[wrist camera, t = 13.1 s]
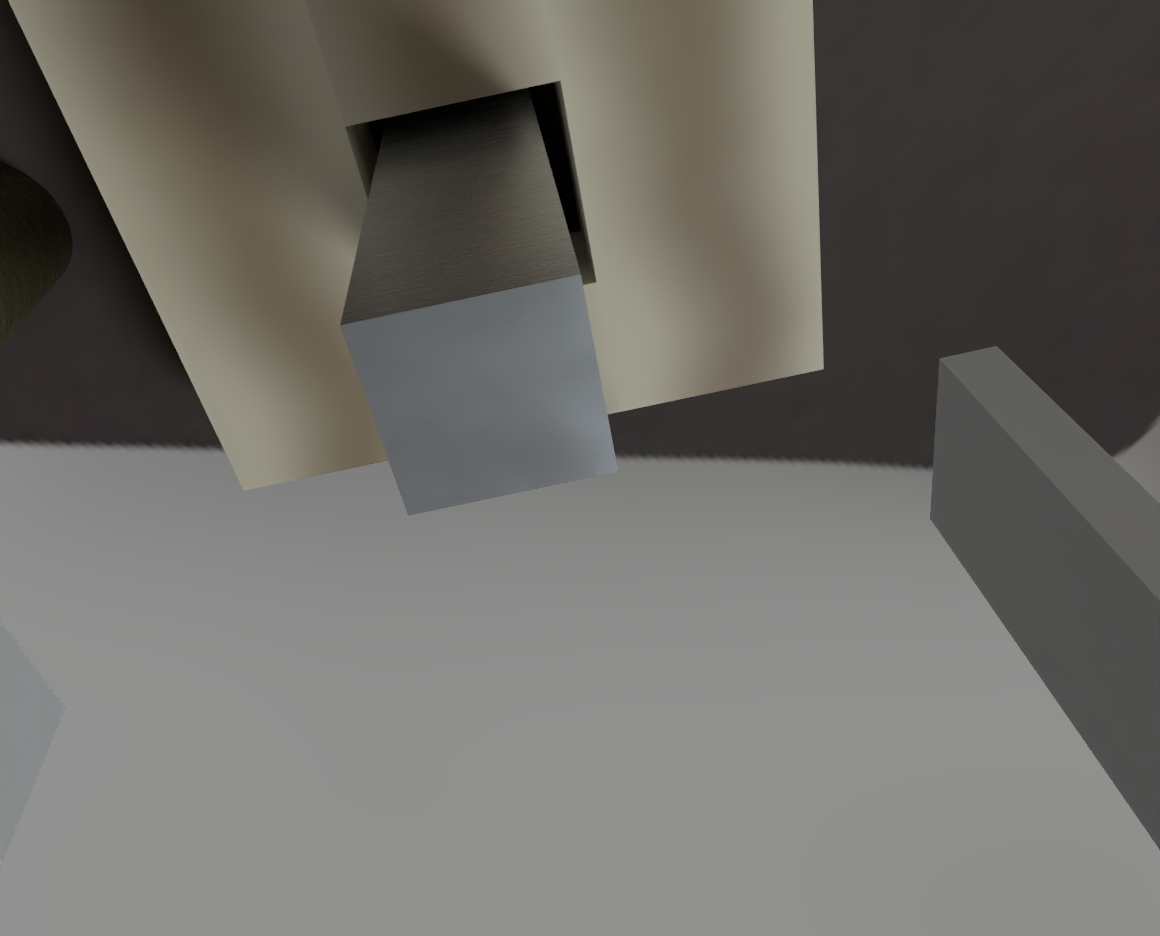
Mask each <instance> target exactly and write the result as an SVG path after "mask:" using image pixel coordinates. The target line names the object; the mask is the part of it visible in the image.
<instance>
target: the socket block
mask: <svg viewBox="0 0 1160 936" xmlns="http://www.w3.org/2000/svg"><path fill="white" fill-rule="evenodd" d="M8 1H9V3H10V5H11V7H12V9H13V12H14V14H15V16H16V18H17V20H18V22H19V24H20V26H21V28H22V30H23V32H24V34H25V37H26V39H27V41H28V43H29V45H30V47H31V49H32V51H33V53H34V55H35V57H36V59H37V61H38V64H39V66H40V68H41V70H42V72H43V74H44V76H45V78H46V80H47V82H48V84H49V86H50V89H51V91H52V93H53V95H54V97H55V99H56V101H57V103H58V105H59V107H60V109H61V111H62V113H63V116H64V118H65V120H66V122H67V124H68V126H69V128H70V130H71V132H72V134H73V136H74V138H75V141H76V143H77V145H78V147H79V149H80V151H81V153H82V155H83V157H84V159H85V161H86V163H87V165H88V168H89V170H90V172H91V174H92V176H93V178H94V180H95V182H96V184H97V186H98V188H99V190H100V193H101V195H102V197H103V199H104V201H105V203H106V205H107V207H108V209H109V211H110V213H111V215H112V218H113V220H114V222H115V224H116V226H117V228H118V230H119V232H120V234H121V236H122V238H123V240H124V242H125V245H126V247H127V249H128V251H129V253H130V255H131V257H132V259H133V261H134V263H135V265H136V267H137V270H138V272H139V274H140V276H141V278H142V280H143V282H144V284H145V286H146V288H147V290H148V292H149V294H150V297H151V299H152V301H153V303H154V305H155V307H156V309H157V311H158V313H159V315H160V317H161V319H162V322H163V324H164V326H165V328H166V330H167V332H168V334H169V336H170V338H171V340H172V342H173V344H174V346H175V349H176V351H177V353H178V355H179V357H180V359H181V361H182V363H183V365H184V367H185V369H186V371H187V374H188V376H189V378H190V380H191V382H192V384H193V386H194V388H195V390H196V392H197V394H198V396H199V399H200V401H201V403H202V405H203V407H204V409H205V411H206V413H207V415H208V417H209V419H210V421H211V423H212V426H213V428H214V430H215V432H216V434H217V436H218V438H219V440H220V442H221V444H222V446H223V448H224V451H225V453H226V455H227V457H228V459H229V461H230V463H231V465H232V467H233V469H234V471H235V473H236V475H237V478H238V480H239V482H240V484H241V486H242V488H243V490H244V491H245V490H250V489H254V488H259V487H264V486H269V485H273V484H278V483H283V482H288V481H293V480H297V479H302V478H307V477H312V476H316V475H321V474H326V473H331V472H335V471H340V470H345V469H350V468H355V467H359V466H364V465H368V464H374V463H378V462H383V461H388V457H387V454H386V452H385V449H384V446H383V443H382V441H381V438H380V435H379V432H378V430H377V427H376V424H375V421H374V418H373V416H372V413H371V410H370V407H369V405H368V402H367V399H366V396H365V393H364V391H363V388H362V385H361V382H360V380H359V377H358V374H357V371H356V368H355V366H354V363H353V360H352V357H351V355H350V352H349V349H348V346H347V343H346V341H345V338H344V335H343V332H342V330H341V327H340V323H341V319H342V314H343V310H344V305H345V301H346V296H347V292H348V287H349V283H350V279H351V274H352V270H353V265H354V261H355V256H356V252H357V247H358V243H359V238H360V234H361V229H362V225H363V220H364V216H365V211H366V207H367V203H368V198H369V194H370V189H371V185H372V180H373V176H374V171H375V167H376V162H377V158H378V152H377V149H376V146H375V142H374V139H373V136H372V132H371V129H370V126H369V121H374V120H378V119H383V118H388V117H392V116H397V115H402V114H406V113H411V112H416V111H420V110H425V109H430V108H434V107H439V106H444V105H449V104H453V103H458V102H463V101H467V100H472V99H477V98H481V97H486V96H491V95H495V94H500V93H505V92H509V91H514V90H519V89H523V88H528V87H533V86H537V85H542V84H547V83H551V82H554V88H555V93H556V99H557V104H558V109H559V115H560V120H561V126H562V131H563V137H564V142H565V148H566V153H567V159H568V164H569V169H570V175H571V180H572V186H573V191H574V197H575V202H576V208H577V213H578V219H579V224H580V229H581V231H578V232H573V233H569V234H570V238H571V241H572V245H573V248H574V252H575V255H576V259H577V262H578V266H579V270H580V273H581V278H582V283H583V288H584V294H585V299H586V304H587V310H588V315H589V320H590V326H591V331H592V336H593V341H594V347H595V352H596V357H597V363H598V368H599V373H600V378H601V384H602V389H603V394H604V400H605V405H606V410H607V414H612V413H617V412H621V411H626V410H631V409H636V408H640V407H645V406H650V405H655V404H659V403H664V402H669V401H674V400H679V399H683V398H688V397H693V396H698V395H702V394H707V393H712V392H717V391H721V390H726V389H731V388H736V387H740V386H745V385H750V384H755V383H759V382H764V381H769V380H774V379H779V378H783V377H788V376H793V375H798V374H802V373H807V372H812V371H817V370H821V369H824V367H823V333H822V300H821V266H820V233H819V199H818V165H817V132H816V98H815V65H814V31H813V0H8Z"/></svg>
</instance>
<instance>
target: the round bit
mask: <svg viewBox="0 0 1160 936" xmlns="http://www.w3.org/2000/svg"><path fill="white" fill-rule="evenodd" d="M71 255H72V235H71V231H70V227H69V224H68V222H67V219H66V217H65V215H64V213H63V211H62V210H61V208H60V206H59V205H58V204H57V202H56V201H55V200H54V198H53V197H52V196H51V195H50V194H49V193H48V192H47V191H46V190H45V189H44V188H43V187H42V186H40V185H39V184H38V183H37V182H35V181H34V180H33V179H31V178H30V177H28V176H26V175H25V174H23V173H21V172H19V171H17V170H15V169H13V168H11V167H8V166H5V165H2V164H0V347H1V346H2V344H3V343H4V342H5V341H6V340H7V339H8V337H9V336H10V335H11V334H12V333H13V332H14V330H15V329H16V328H17V327H18V326H19V325H20V323H21V322H22V321H23V320H24V319H25V318H26V316H27V315H28V314H29V313H30V312H31V311H32V310H33V308H34V307H35V306H36V305H37V304H38V303H39V301H40V300H41V299H42V298H43V297H44V296H45V294H46V293H47V292H48V291H49V290H50V289H51V287H52V286H53V285H54V284H55V283H56V282H57V280H58V279H59V278H60V277H61V276H62V274H63V273H64V272H65V270H66V269H67V267H68V265H69V262H70V259H71Z"/></svg>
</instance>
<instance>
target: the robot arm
mask: <svg viewBox="0 0 1160 936" xmlns="http://www.w3.org/2000/svg"><path fill="white" fill-rule="evenodd" d="M930 519H931V520H932V522H933V523H934V525H935V526H936V528H937V529H938V531H939V532H940V533H941V535H942V536H943V538H944V539H945V541H946V542H947V543H948V545H949V546H950V548H951V549H952V551H953V552H954V554H955V555H956V556H957V558H958V559H959V561H960V562H961V564H962V565H963V567H964V568H965V569H966V571H967V572H968V573H969V575H970V576H971V578H972V579H973V581H974V582H975V584H976V585H977V587H978V588H979V590H980V591H981V592H982V594H983V595H984V597H985V598H986V600H987V601H988V602H989V604H990V606H991V607H992V608H993V610H994V611H995V613H996V614H997V616H998V617H999V618H1000V620H1001V621H1002V623H1003V624H1004V626H1005V627H1006V629H1007V630H1008V631H1009V633H1010V634H1011V636H1012V637H1013V639H1014V640H1015V642H1016V643H1017V644H1018V646H1019V647H1020V649H1021V650H1022V652H1023V653H1024V655H1025V656H1026V657H1027V659H1028V660H1029V662H1030V663H1031V665H1032V666H1033V667H1034V669H1035V670H1036V672H1037V673H1038V675H1039V676H1040V677H1041V679H1042V680H1043V682H1044V683H1045V685H1046V686H1047V688H1048V689H1049V691H1050V692H1051V693H1052V695H1053V696H1054V698H1055V699H1056V701H1057V702H1058V704H1059V705H1060V706H1061V708H1062V709H1063V711H1064V712H1065V714H1066V715H1067V717H1068V718H1069V719H1070V721H1071V722H1072V724H1073V725H1074V727H1075V728H1076V729H1077V731H1078V732H1079V734H1080V735H1081V736H1082V738H1083V740H1084V741H1085V742H1086V744H1087V745H1088V747H1089V748H1090V750H1091V751H1092V752H1093V754H1094V755H1095V757H1096V758H1097V760H1098V761H1099V763H1100V764H1101V765H1102V767H1103V768H1104V770H1105V771H1106V773H1107V774H1108V775H1109V777H1110V779H1111V780H1112V781H1113V783H1114V784H1115V786H1116V787H1117V788H1118V790H1119V791H1120V793H1121V794H1122V796H1123V797H1124V799H1125V800H1126V802H1127V803H1128V804H1129V806H1130V807H1131V809H1132V810H1133V812H1134V813H1135V815H1136V816H1137V817H1138V819H1139V820H1140V822H1141V823H1142V825H1143V826H1144V827H1145V829H1146V830H1147V832H1148V833H1149V835H1150V836H1151V838H1152V839H1153V841H1154V842H1155V843H1156V845H1157V846H1158V848H1159V849H1160V503H1159V502H1158V501H1156V500H1155V499H1154V498H1153V497H1152V496H1151V495H1150V494H1149V493H1148V492H1147V491H1146V490H1145V489H1144V488H1143V487H1142V486H1141V485H1140V484H1139V483H1138V482H1137V481H1136V480H1135V479H1134V478H1133V477H1132V476H1131V475H1130V474H1128V473H1127V472H1126V471H1125V470H1124V469H1123V468H1122V467H1121V466H1120V465H1119V464H1118V463H1117V462H1116V461H1115V460H1114V459H1113V458H1112V457H1111V456H1110V455H1109V454H1108V453H1107V452H1106V451H1105V450H1104V449H1103V448H1102V447H1100V446H1099V445H1098V444H1097V443H1096V442H1095V441H1094V440H1093V439H1092V438H1091V437H1090V436H1089V435H1088V434H1087V433H1086V432H1085V431H1084V430H1083V429H1082V428H1081V427H1080V426H1079V425H1078V424H1077V423H1076V422H1075V421H1074V420H1073V419H1071V418H1070V417H1069V416H1068V415H1067V414H1066V413H1065V412H1064V411H1063V410H1062V409H1061V408H1060V407H1059V406H1058V405H1057V404H1056V403H1055V402H1054V401H1053V400H1052V399H1051V398H1050V397H1049V396H1048V395H1047V394H1046V393H1045V392H1043V391H1042V390H1041V389H1040V388H1039V387H1038V386H1037V385H1036V384H1035V383H1034V382H1033V381H1032V380H1031V379H1030V378H1029V377H1028V376H1027V375H1026V374H1025V373H1024V372H1023V371H1022V370H1021V369H1020V368H1019V367H1018V366H1017V365H1015V364H1014V363H1013V362H1012V361H1011V360H1010V359H1009V358H1008V357H1007V356H1006V355H1005V354H1004V353H1003V352H1002V351H1001V350H1000V349H999V348H998V347H997V346H995V347H990V348H986V349H981V350H977V351H972V352H967V353H963V354H958V355H954V356H949V357H944V358H940V359H939V376H938V393H937V410H936V427H935V444H934V461H933V478H932V495H931V513H930ZM64 710H65V705H64V704H63V702H62V701H61V700H60V698H59V697H58V696H57V695H56V693H55V692H54V691H53V689H52V688H51V687H50V685H49V684H48V683H47V682H46V680H45V679H44V677H43V676H42V675H41V674H40V672H39V671H38V670H37V668H36V667H35V666H34V664H33V663H32V662H31V660H30V659H29V658H28V657H27V655H26V654H25V653H24V651H23V650H22V649H21V647H20V646H19V645H18V643H17V642H16V641H15V639H14V638H13V637H12V635H11V634H10V633H9V632H8V630H7V629H6V628H5V626H4V625H3V624H2V622H1V621H0V866H1V864H2V861H3V859H4V856H5V854H6V851H7V849H8V847H9V844H10V842H11V839H12V837H13V834H14V832H15V830H16V827H17V825H18V822H19V820H20V817H21V815H22V812H23V810H24V807H25V805H26V802H27V800H28V798H29V795H30V793H31V790H32V788H33V785H34V783H35V780H36V778H37V776H38V773H39V771H40V768H41V766H42V763H43V761H44V759H45V756H46V754H47V751H48V749H49V746H50V744H51V741H52V739H53V736H54V734H55V732H56V729H57V727H58V724H59V722H60V719H61V717H62V715H63V712H64Z"/></svg>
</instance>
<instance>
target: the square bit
mask: <svg viewBox="0 0 1160 936" xmlns="http://www.w3.org/2000/svg"><path fill="white" fill-rule="evenodd" d="M340 327H341V330H342V332H343V335H344V338H345V341H346V343H347V346H348V349H349V352H350V355H351V357H352V360H353V363H354V366H355V368H356V371H357V374H358V377H359V380H360V382H361V385H362V388H363V391H364V393H365V396H366V399H367V402H368V405H369V407H370V410H371V413H372V416H373V418H374V421H375V424H376V427H377V430H378V432H379V435H380V438H381V441H382V443H383V446H384V449H385V452H386V454H387V457H388V460H389V462H390V465H391V468H392V471H393V474H394V477H395V479H396V482H397V485H398V488H399V490H400V493H401V496H402V498H403V502H404V504H405V507H406V510H407V513H408V515H413V514H418V513H422V512H427V511H432V510H437V509H441V508H446V507H451V506H456V505H461V504H465V503H470V502H475V501H480V500H484V499H489V498H493V497H498V496H503V495H508V494H513V493H518V492H522V491H527V490H532V489H537V488H541V487H546V486H550V485H556V484H560V483H565V482H570V481H575V480H579V479H584V478H588V477H594V476H598V475H603V474H608V473H613V472H617V471H618V469H617V463H616V458H615V453H614V447H613V442H612V437H611V431H610V426H609V421H608V416H607V410H606V405H605V400H604V394H603V389H602V384H601V378H600V373H599V368H598V363H597V357H596V352H595V347H594V341H593V336H592V331H591V326H590V320H589V315H588V310H587V304H586V299H585V294H584V288H583V283H582V278H581V273H580V270H579V266H578V262H577V259H576V255H575V252H574V248H573V245H572V241H571V238H570V234H569V231H568V227H567V224H566V220H565V216H564V213H563V209H562V206H561V202H560V199H559V195H558V192H557V188H556V185H555V181H554V177H553V174H552V170H551V167H550V163H549V160H548V156H547V153H546V149H545V146H544V142H543V138H542V135H541V131H540V128H539V124H538V121H537V117H536V114H535V110H534V107H533V103H532V100H531V96H530V92H529V89H528V88H523V89H519V90H514V91H509V92H505V93H500V94H495V95H491V96H486V97H481V98H477V99H472V100H467V101H463V102H458V103H453V104H449V105H444V106H439V107H434V108H430V109H425V110H420V111H416V112H411V113H406V114H402V115H397V116H392V117H388V118H386V122H385V127H384V131H383V135H382V140H381V144H380V149H379V153H378V158H377V162H376V167H375V171H374V176H373V180H372V185H371V189H370V194H369V198H368V203H367V207H366V211H365V216H364V220H363V225H362V229H361V234H360V238H359V243H358V247H357V252H356V256H355V261H354V265H353V270H352V274H351V279H350V283H349V287H348V292H347V296H346V301H345V305H344V310H343V314H342V319H341V323H340Z"/></svg>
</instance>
